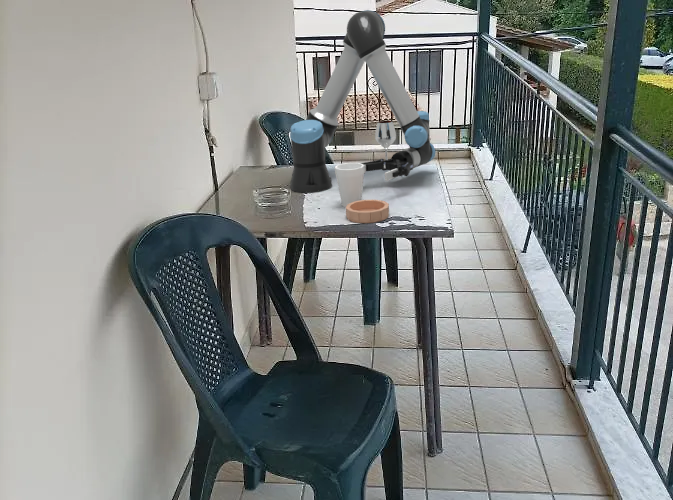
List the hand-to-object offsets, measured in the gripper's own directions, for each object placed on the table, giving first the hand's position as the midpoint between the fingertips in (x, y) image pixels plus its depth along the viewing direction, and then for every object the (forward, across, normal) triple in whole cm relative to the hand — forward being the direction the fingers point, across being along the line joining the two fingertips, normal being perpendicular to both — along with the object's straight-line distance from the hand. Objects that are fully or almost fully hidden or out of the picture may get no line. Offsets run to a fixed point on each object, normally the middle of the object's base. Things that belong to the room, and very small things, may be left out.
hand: (369, 175), depth 213 cm
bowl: (+17, -12, -8) cm, 22 cm away
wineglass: (-36, +19, -8) cm, 42 cm away
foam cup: (+10, 0, -8) cm, 13 cm away
